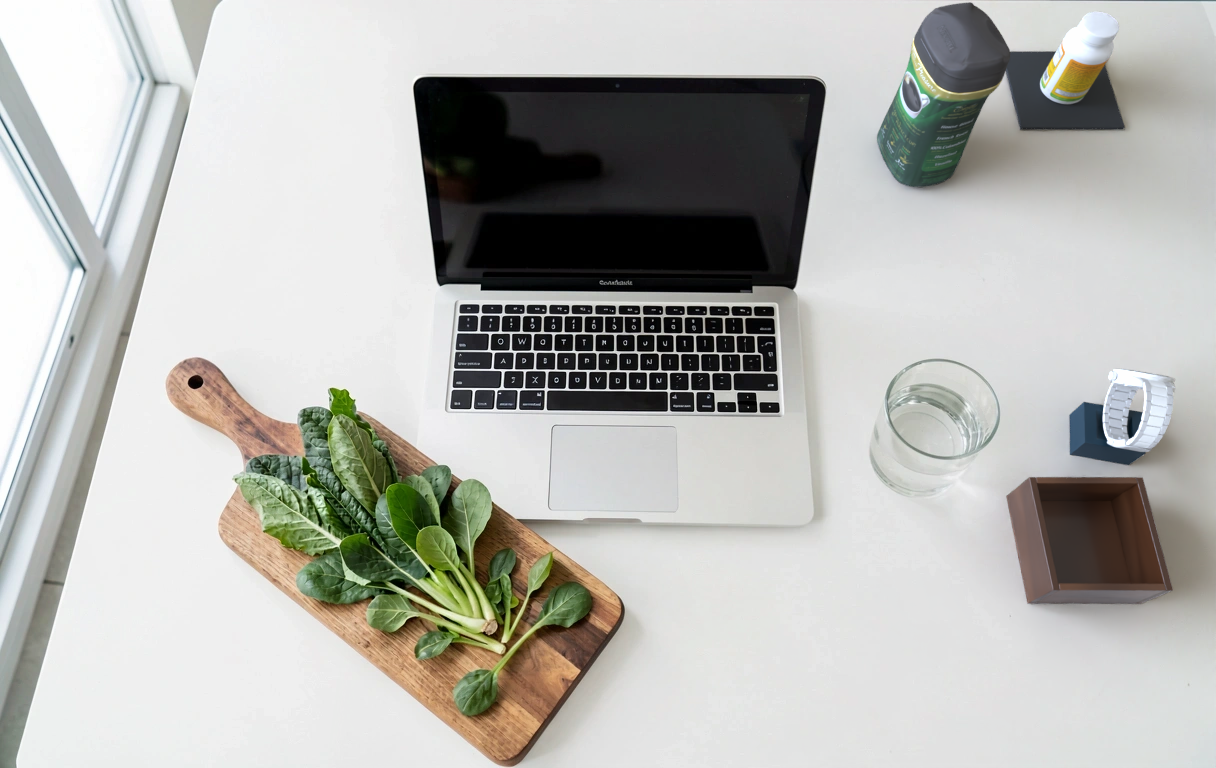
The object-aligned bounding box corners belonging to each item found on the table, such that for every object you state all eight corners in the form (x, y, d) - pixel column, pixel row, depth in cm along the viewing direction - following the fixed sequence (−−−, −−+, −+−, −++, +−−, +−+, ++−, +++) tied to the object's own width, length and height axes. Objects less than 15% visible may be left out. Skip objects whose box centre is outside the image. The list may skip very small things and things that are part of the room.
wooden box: (1113, 496, 86) (1142, 477, 81) (1140, 604, 81) (1173, 590, 77) (1006, 496, 86) (1029, 476, 81) (1027, 603, 81) (1053, 590, 77)
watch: (1126, 407, 90) (1189, 356, 80) (1129, 482, 86) (1195, 438, 76) (1068, 397, 90) (1123, 344, 80) (1069, 471, 87) (1127, 426, 77)
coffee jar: (962, 182, 102) (1031, 57, 85) (897, 196, 101) (952, 73, 85) (929, 119, 106) (988, -13, 90) (866, 131, 105) (913, 1, 89)
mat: (1099, 53, 111) (1100, 51, 110) (1123, 129, 105) (1125, 127, 105) (1001, 53, 111) (1002, 51, 110) (1020, 129, 105) (1021, 127, 105)
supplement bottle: (1094, 96, 107) (1137, 31, 98) (1058, 112, 106) (1098, 48, 97) (1065, 66, 109) (1104, 0, 100) (1029, 81, 108) (1065, 16, 99)
